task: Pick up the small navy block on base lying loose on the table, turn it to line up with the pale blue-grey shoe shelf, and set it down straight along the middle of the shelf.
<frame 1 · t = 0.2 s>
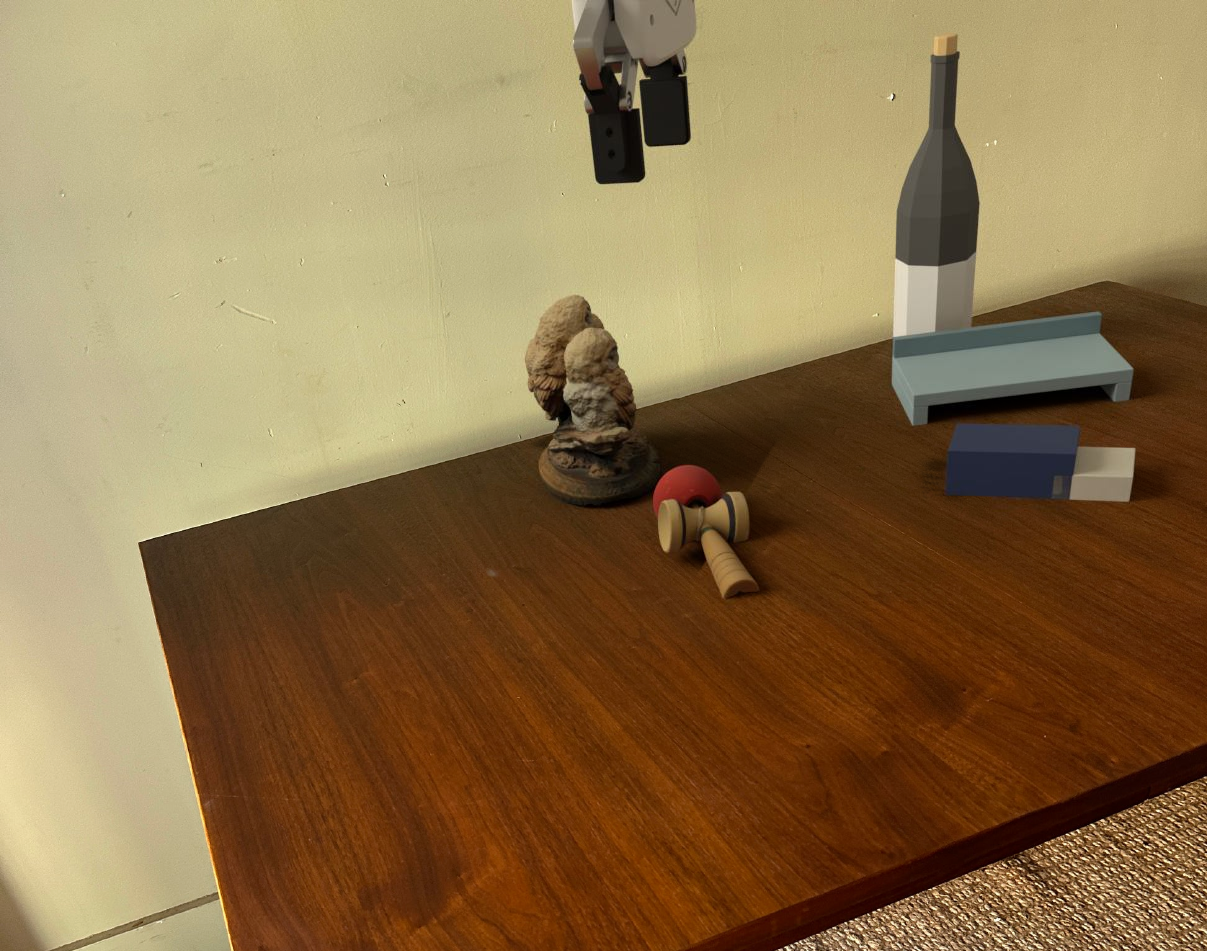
hand: (645, 162, 79), 31 cm above the table, tool pointing down, fingers open, 9 cm apart
kendama: (711, 564, 101), on the table
shelf: (1003, 407, 118), on the table
owl figurine: (601, 475, 118), on the table
navy block on base: (1026, 499, 102), on the table
wine bottle: (930, 360, 130), on the table
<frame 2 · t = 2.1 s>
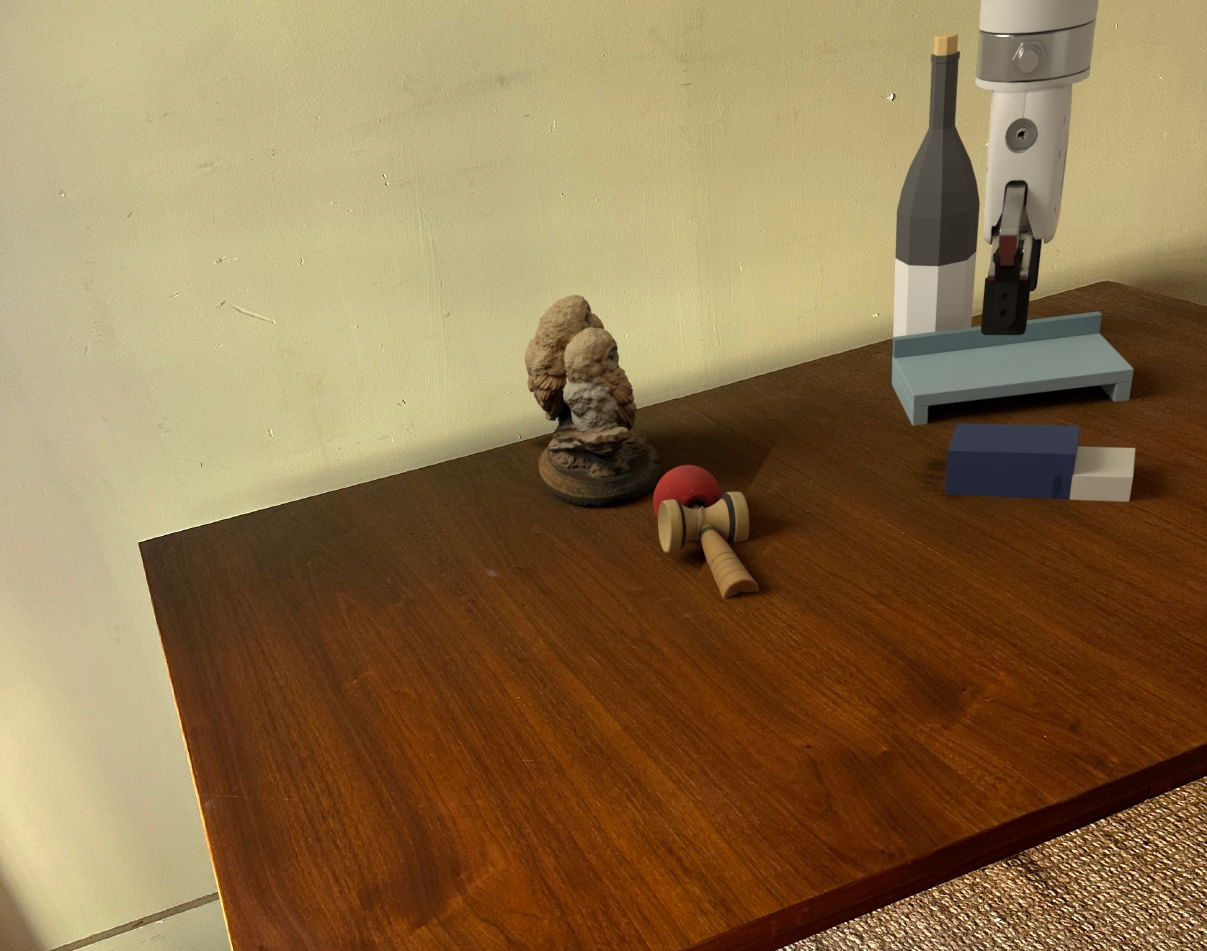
hand: (1009, 311, 93), 16 cm above the table, tool pointing down, fingers open, 9 cm apart
nothing on the table moved.
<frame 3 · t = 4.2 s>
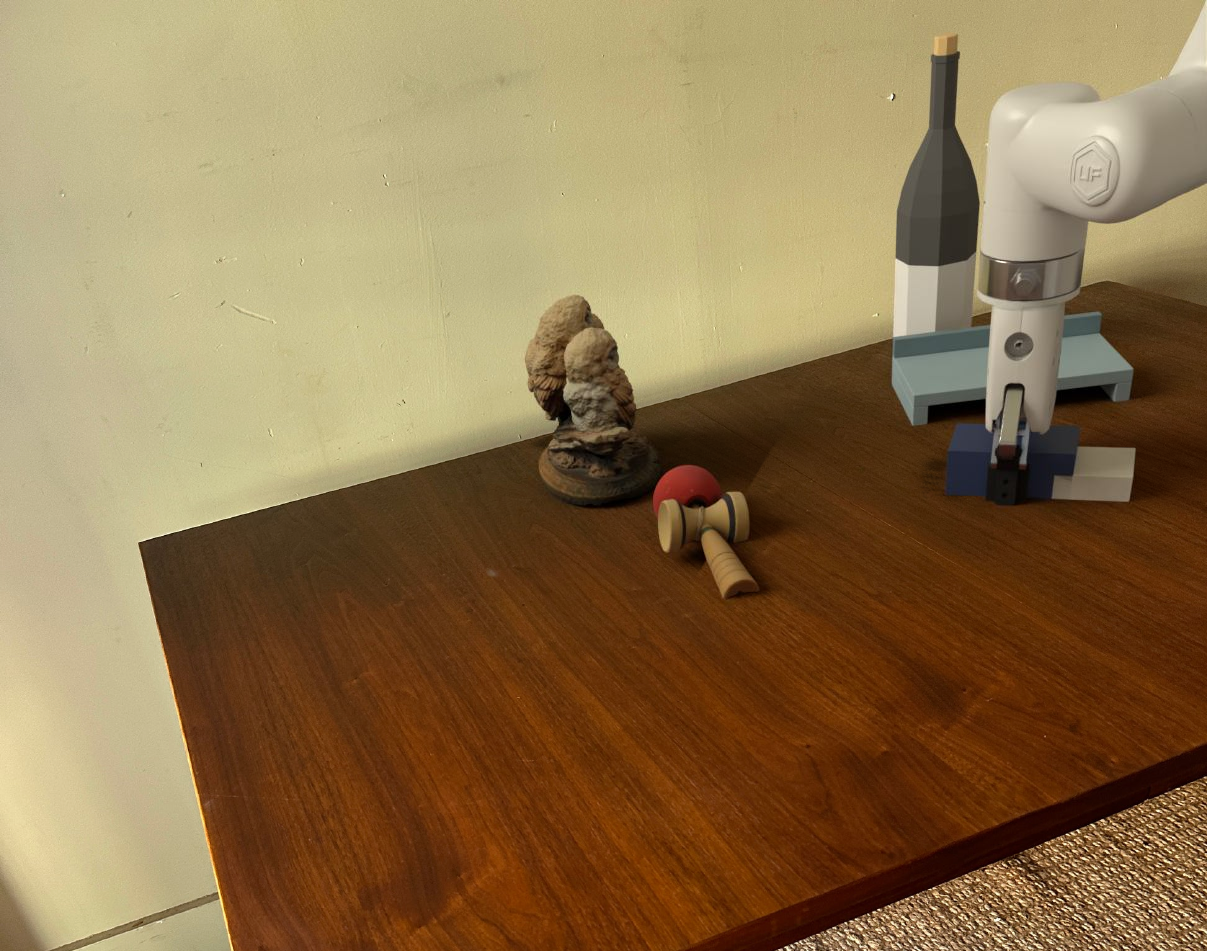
hand: (1009, 490, 102), 1 cm above the table, tool pointing down, fingers closed on navy block on base, 6 cm apart
navy block on base: (1026, 499, 102), on the table, touching gripper
everything else where it was.
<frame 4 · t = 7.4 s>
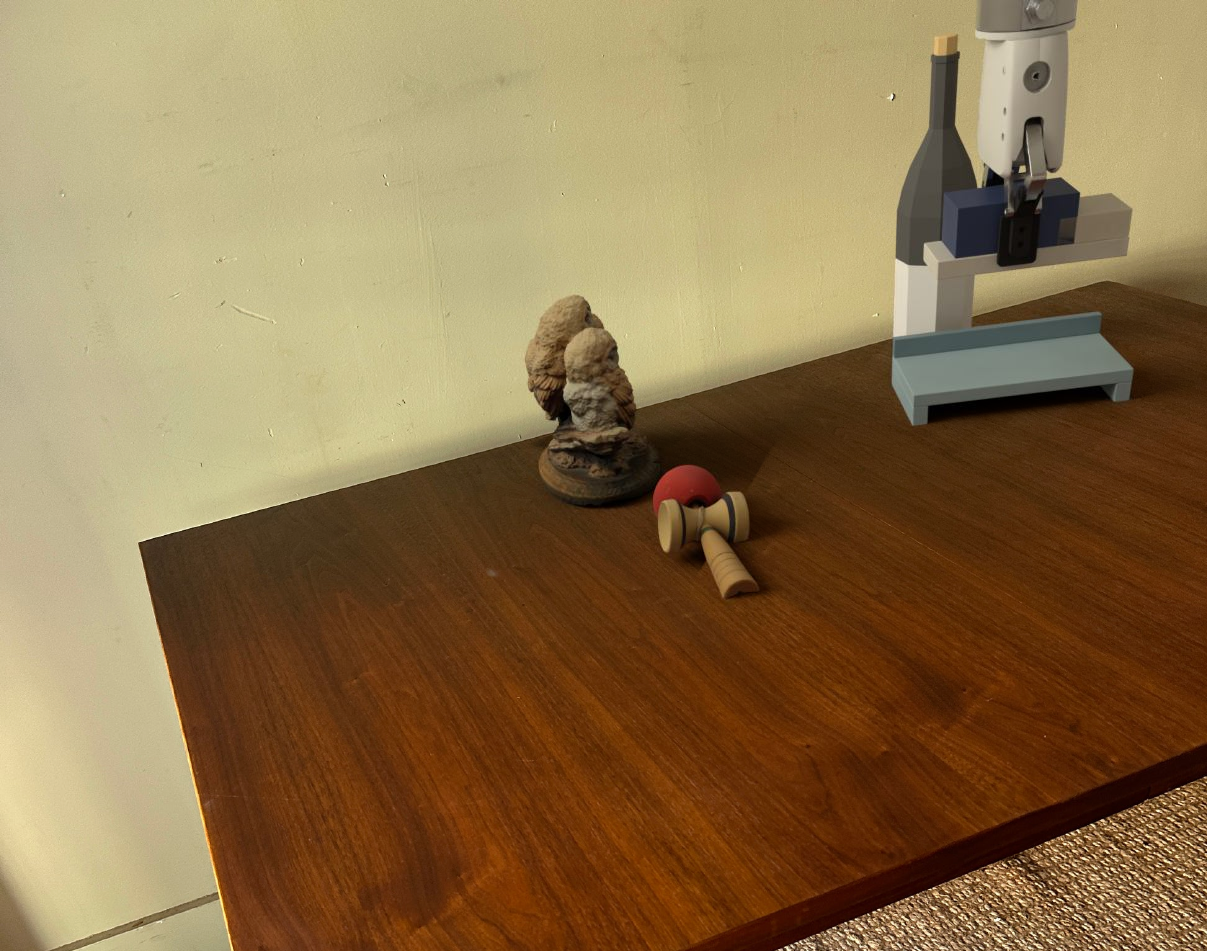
hand: (1006, 250, 105), 16 cm above the table, tool pointing down, fingers closed on navy block on base, 6 cm apart
navy block on base: (1022, 258, 105), point 15 cm above the table, touching gripper
everything else where it was.
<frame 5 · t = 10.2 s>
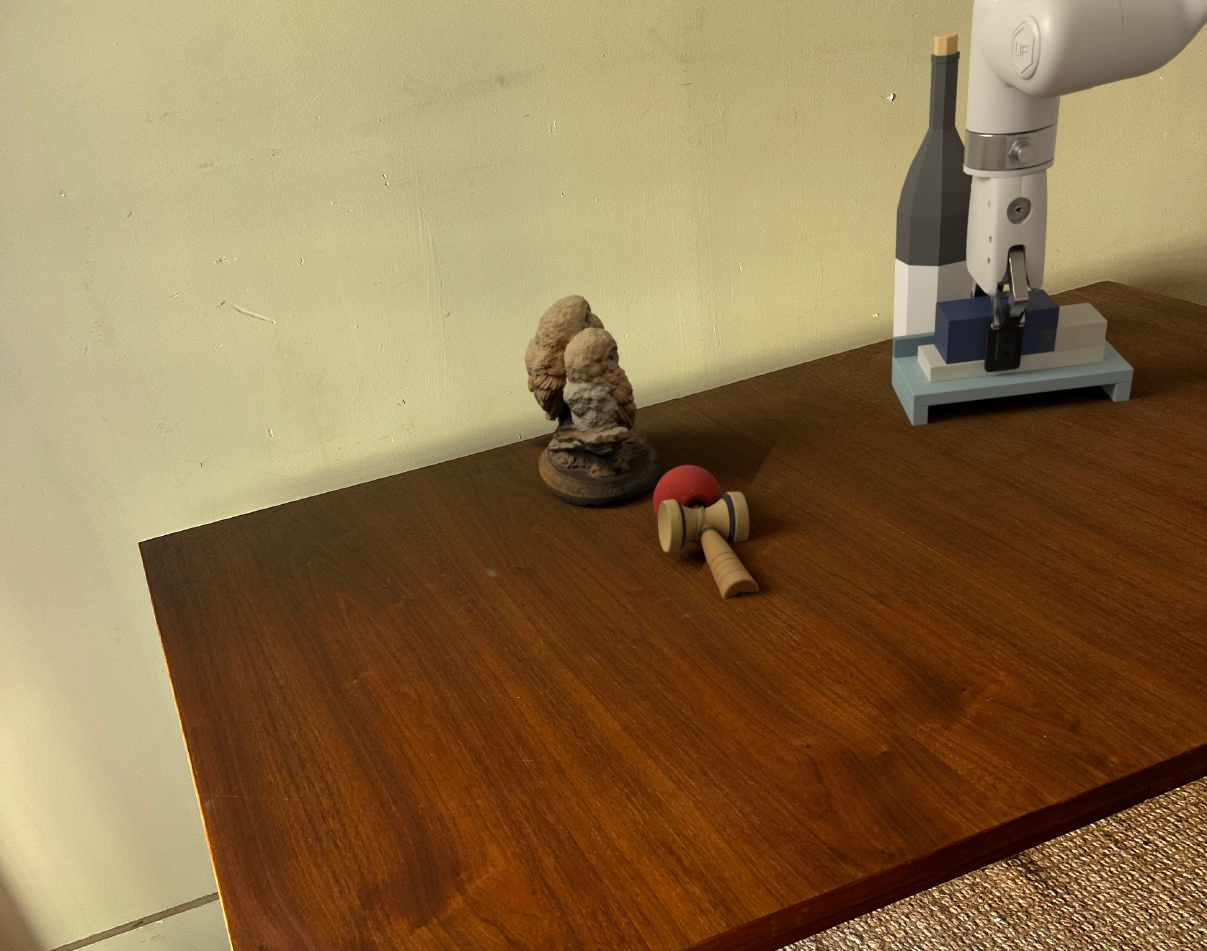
hand: (992, 355, 114), 5 cm above the table, tool pointing down, fingers closed on navy block on base, 6 cm apart
navy block on base: (1007, 361, 115), point 4 cm above the table, touching gripper, shelf
everything else where it was.
when the fingers open (5 cm above the table, at t = 10.7 s): navy block on base stays where it is, resting on shelf.
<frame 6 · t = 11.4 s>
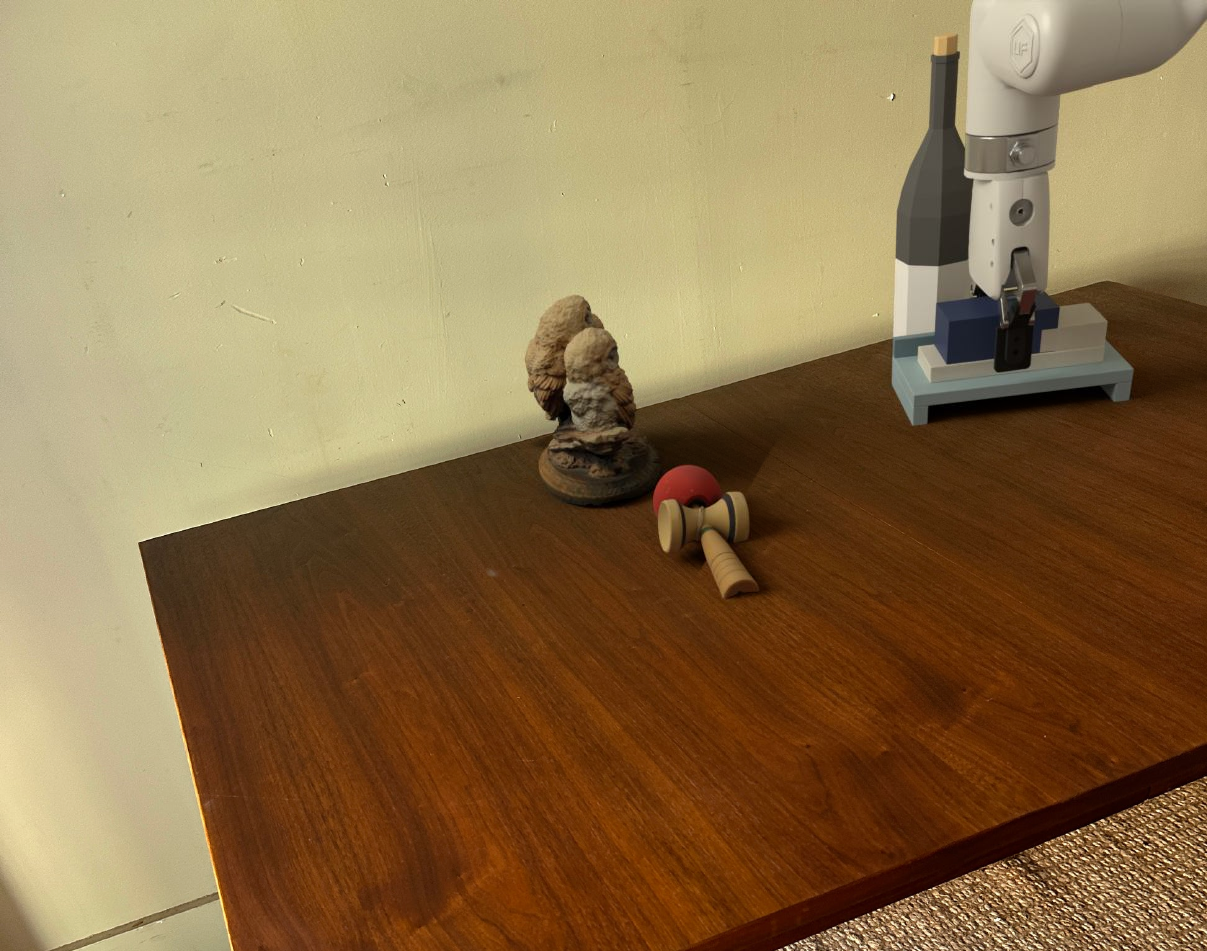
hand: (998, 353, 113), 6 cm above the table, tool pointing down, fingers open, 9 cm apart
navy block on base: (1007, 361, 115), point 4 cm above the table, touching shelf
everything else where it was.
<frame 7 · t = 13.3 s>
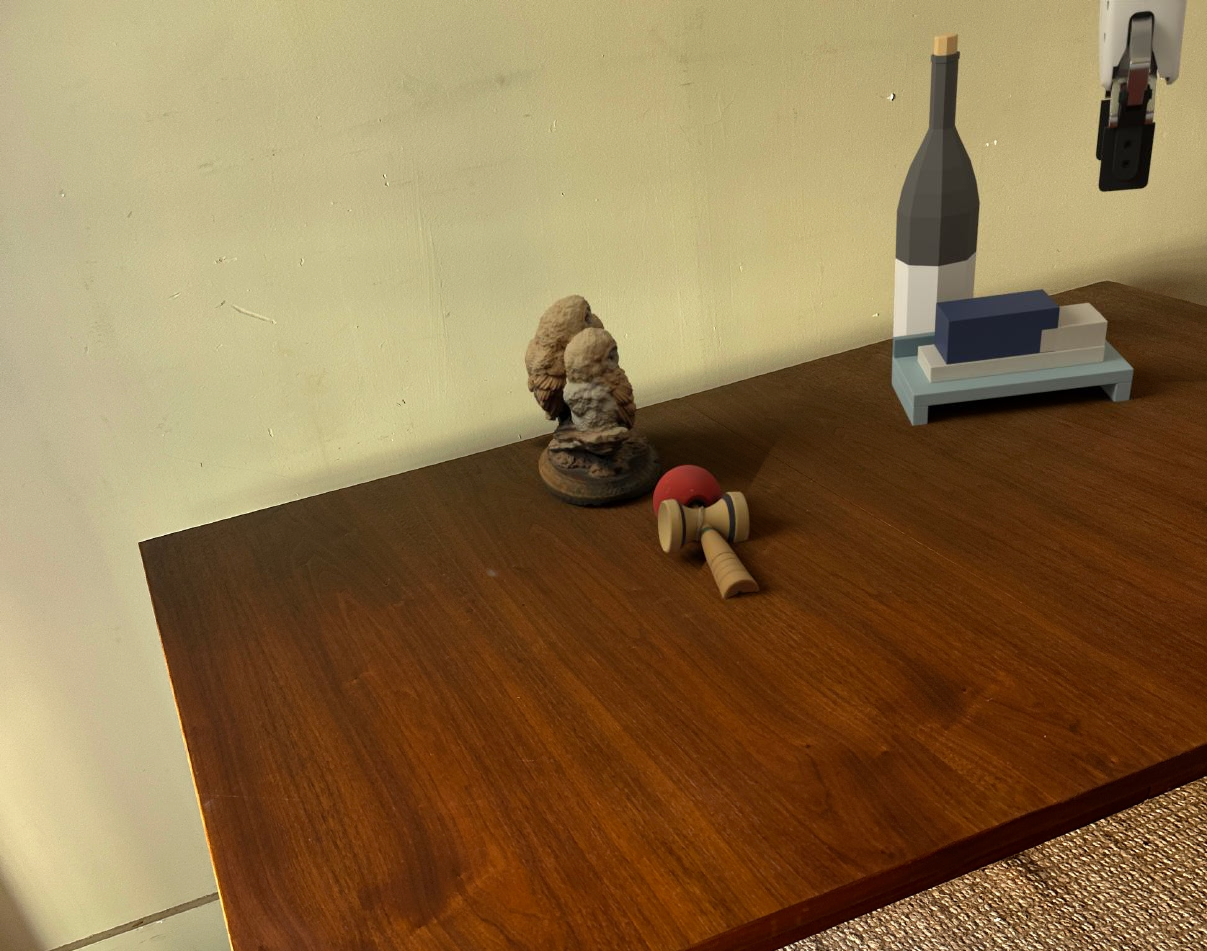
hand: (1120, 172, 87), 25 cm above the table, tool pointing down, fingers open, 9 cm apart
nothing on the table moved.
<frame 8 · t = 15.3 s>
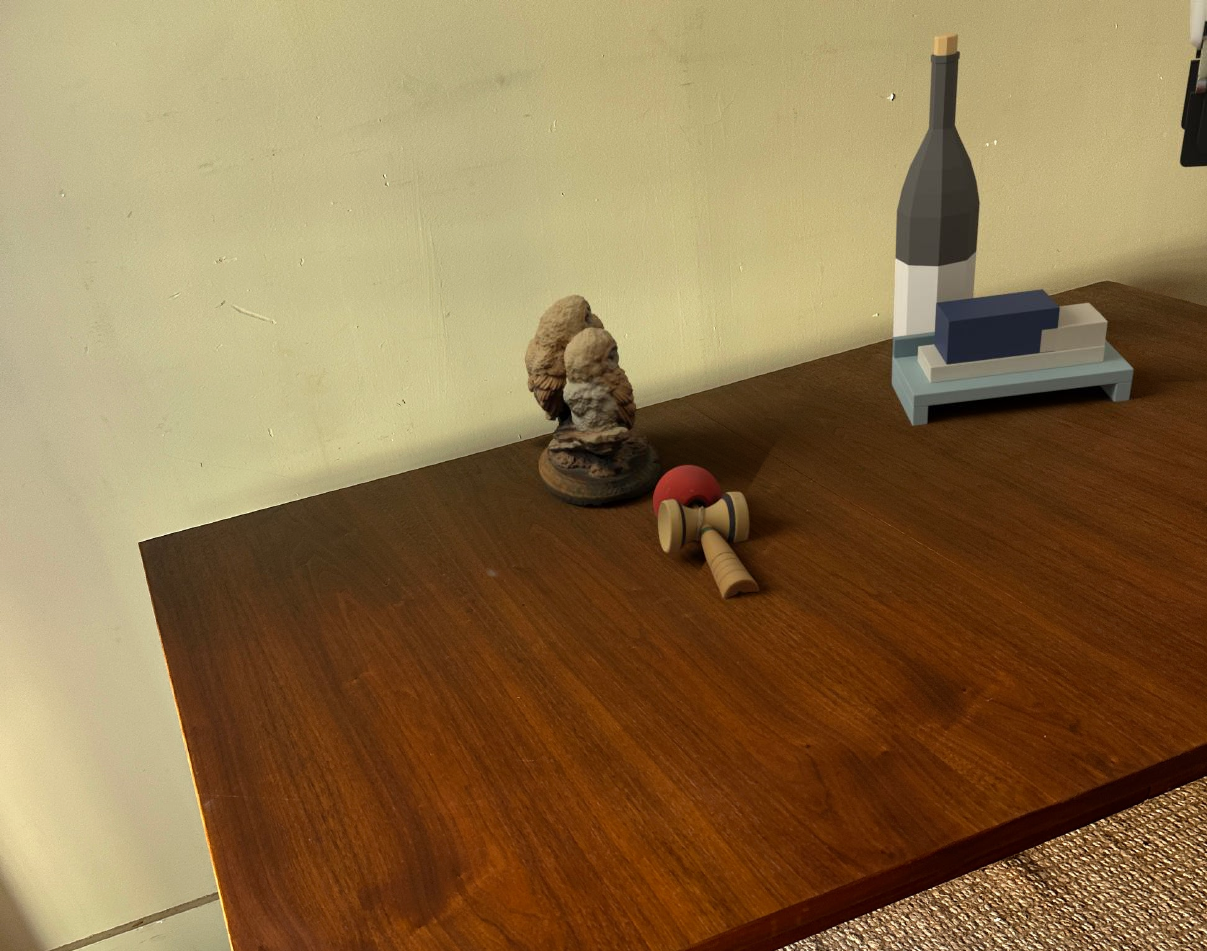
hand: (1206, 145, 77), 28 cm above the table, tool pointing down, fingers open, 9 cm apart
nothing on the table moved.
at the end: navy block on base inside the target area on the shelf (0.1 cm from its centre), point 4.5 cm above the shelf's base; navy block on base tilted 0°; the gripper is holding nothing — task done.
